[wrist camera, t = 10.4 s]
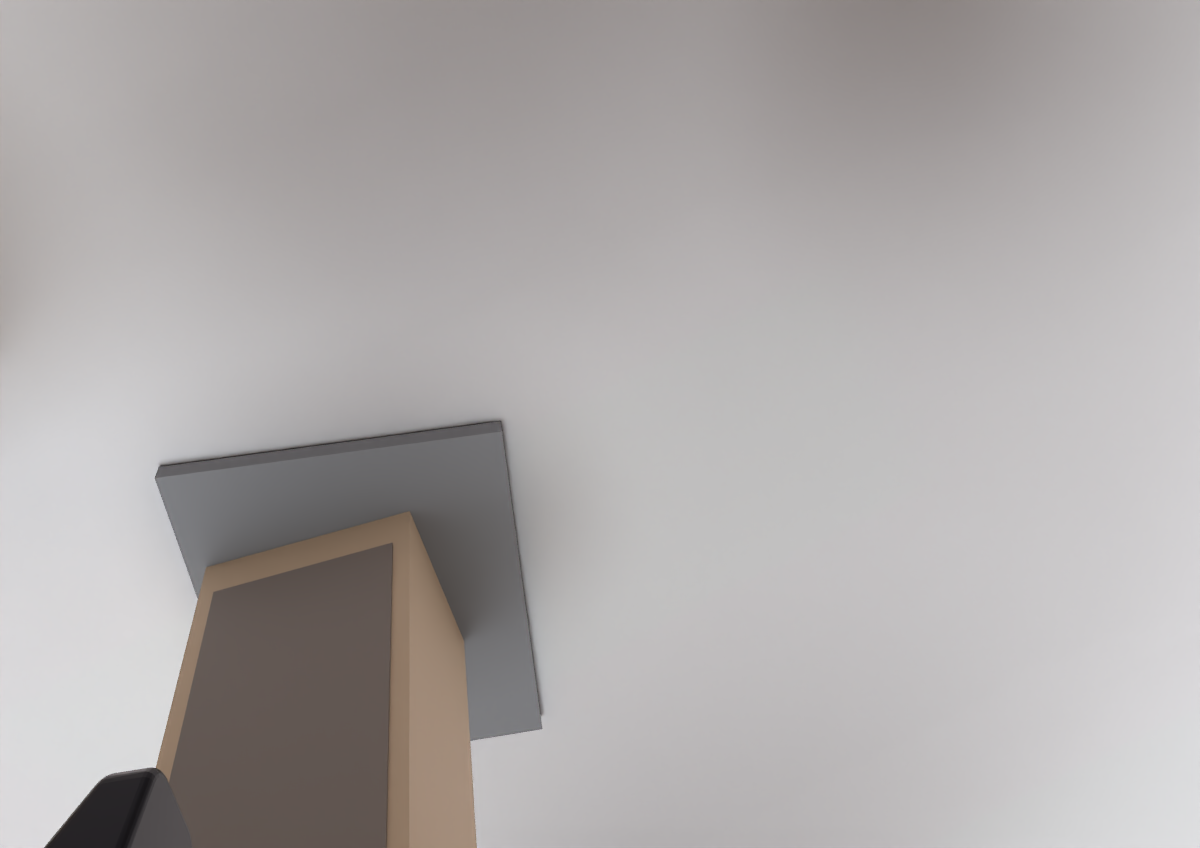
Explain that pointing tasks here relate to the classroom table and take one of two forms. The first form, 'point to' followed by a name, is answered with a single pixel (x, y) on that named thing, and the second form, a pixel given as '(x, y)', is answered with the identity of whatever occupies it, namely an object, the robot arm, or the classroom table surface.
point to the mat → (375, 491)
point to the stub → (324, 700)
